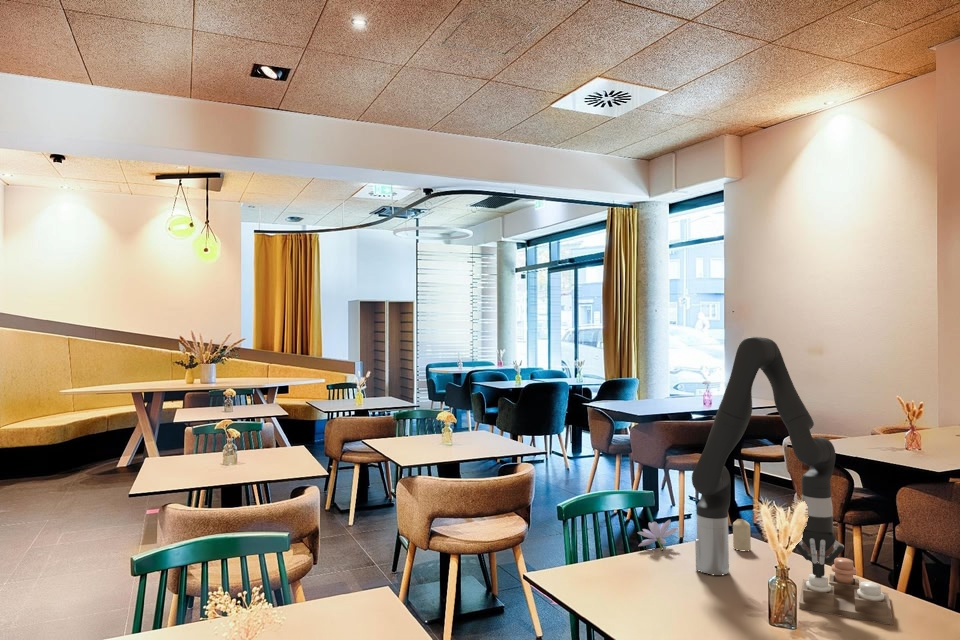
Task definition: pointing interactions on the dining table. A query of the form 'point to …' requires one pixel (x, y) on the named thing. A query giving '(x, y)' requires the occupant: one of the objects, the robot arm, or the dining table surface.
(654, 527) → the water lily
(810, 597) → the mount block
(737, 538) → the candle
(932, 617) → the dining table surface
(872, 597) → the knob
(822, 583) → the knob
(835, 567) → the middle knob
